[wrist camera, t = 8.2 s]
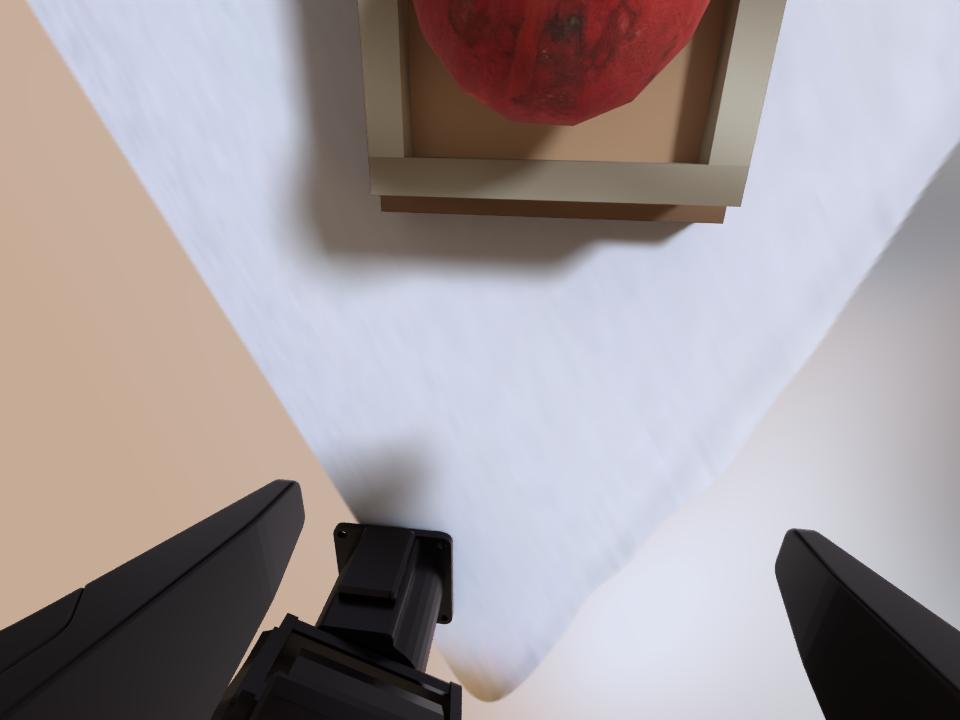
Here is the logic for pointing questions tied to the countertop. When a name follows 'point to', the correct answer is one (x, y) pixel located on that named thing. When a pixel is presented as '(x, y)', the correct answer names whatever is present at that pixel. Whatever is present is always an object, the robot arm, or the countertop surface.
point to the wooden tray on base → (569, 129)
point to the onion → (556, 51)
